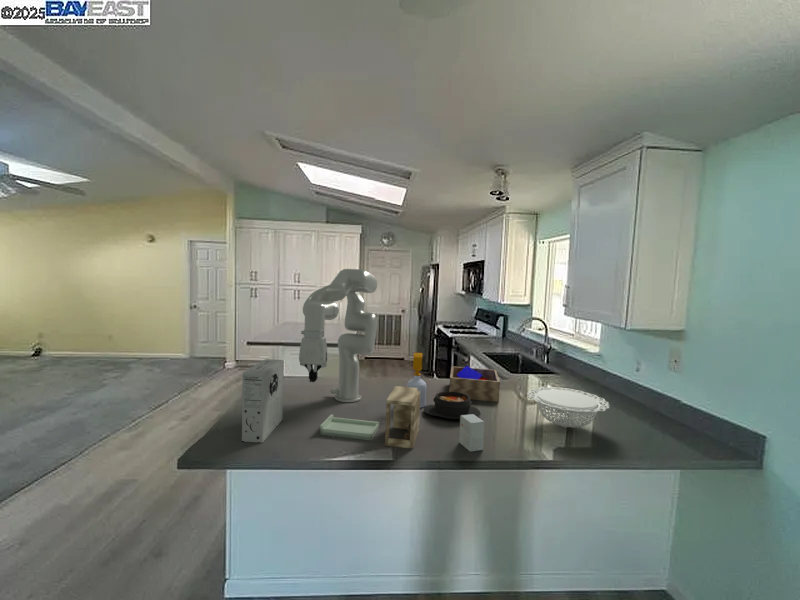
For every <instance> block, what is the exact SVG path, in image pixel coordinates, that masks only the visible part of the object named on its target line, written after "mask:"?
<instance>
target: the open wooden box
mask: <svg viewBox="0 0 800 600" xmlns="http://www.w3.org/2000/svg"><path fill="white" fill-rule="evenodd" d="M465 367H466V366H465ZM465 367H462V366H453V365H452V366H451V369H450V375H449V391H451V392H459V393H463V394H466V395H467V396H469V397H470V400H474V401H487V402H493V403H494V402H497V403H499V402H500V390H501V389H500V388H501V387H500V386H501V381H500V378H499V375H498V371H497V369H492V368H491V369H489V368H487V369H486V368H478V367H471V368H472V369H473V370H475V371H477V372H478V373H480V374H481V375H483V376H484V377H485V378H486V379H487V380H477V379H465V378H457V374H458V373H459V372H460V371H461V370H462V369H463V368H465Z"/></svg>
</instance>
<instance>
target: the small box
mask: <svg viewBox="0 0 800 600" xmlns="http://www.w3.org/2000/svg"><path fill="white" fill-rule="evenodd" d="M484 439H485V421H484V420H482V419H481V418H480V417H479V416H475V415H474V414H470V415H461V416H460V419H459V441H458V443H460V445H462V447H464V448H465V449H466V450H468V452H477V451H483V450H484V444H485V443H484V442H485V441H484Z"/></svg>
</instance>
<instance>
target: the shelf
mask: <svg viewBox="0 0 800 600" xmlns="http://www.w3.org/2000/svg"><path fill="white" fill-rule="evenodd" d="M420 393H421V391H418V388H412V387H407V386H400V385H399V386H398V385H394V387H393V389H392V391H391V392H390V394H389V395H388V397H387V399H386V403H385V404H386V408H385V430H384V431H385V432H384V433H385V436H384V446H388V447H395V448H403V449H414V447H415V444H416V440H417V437H418V433H419V430H420V414H421V413H420V412H421V410H420V409H421V408H420ZM392 404H393V418H392V419H393V421H392V422H393V425H392V429H403V430H407V432H405V433H404V436H403V437H404V438H403V439H400V438H393V437H392V438H391V437H390V428H391V427H390V422H391V420H390V418H391V405H392Z"/></svg>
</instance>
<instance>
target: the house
mask: <svg viewBox="0 0 800 600" xmlns="http://www.w3.org/2000/svg"><path fill="white" fill-rule="evenodd" d="M472 368H473V367H470V366H469V365H466V366H465V368H463V369H462V370H461V371H460V372H459V373H458V374H457V378H465V379H477V380H487V379H486V378H485V377H484V376H483V375H481V374H480V373H478V372H477V371H475V370H473V369H472Z"/></svg>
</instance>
